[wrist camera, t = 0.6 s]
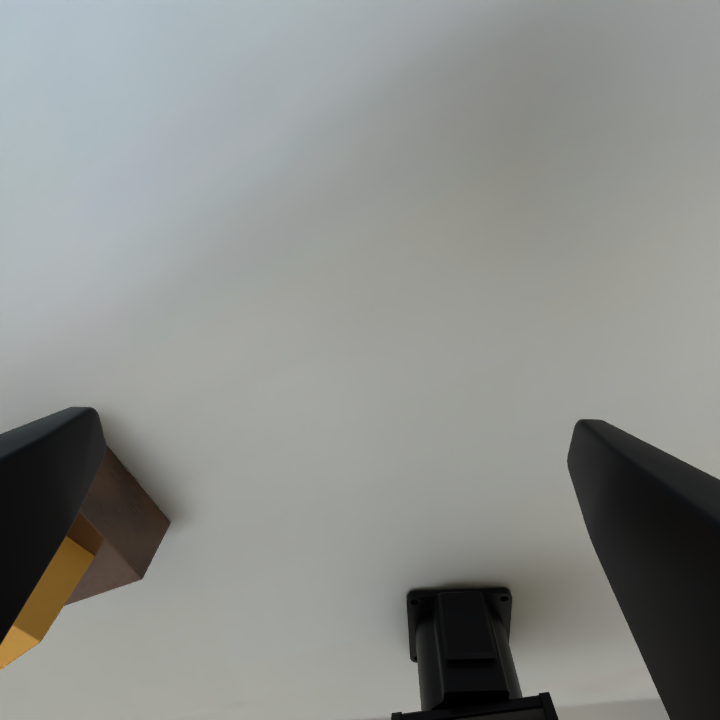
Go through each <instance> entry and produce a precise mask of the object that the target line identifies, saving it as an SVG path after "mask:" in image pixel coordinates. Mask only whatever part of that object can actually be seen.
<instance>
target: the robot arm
mask: <svg viewBox="0 0 720 720" xmlns="http://www.w3.org/2000/svg"><path fill="white" fill-rule="evenodd" d="M105 453H106V442H105V438H104V434H103V430H102V426H101V422H100V418H99V415H98V412H97V411H96V410H95V409H94V408H91V407H70V408H67V409H64V410H62V411H59V412H57V413H54V414H52V415H49V416H46V417H44V418H41V419H39V420H36V421H33V422H31V423H28V424H26V425H23V426H20V427H18V428H15V429H13V430H10V431H8V432H5V433H2V434H0V645H1V644H2V642H3V640H4V639H5V637H6V635H7V634H8V632H9V630H10V629H11V627H12V625H13V624H14V622H15V620H16V619H17V617H18V615H19V614H20V612H21V610H22V609H23V607H24V605H25V604H26V602H27V600H28V599H29V597H30V595H31V594H32V592H33V590H34V589H35V587H36V585H37V584H38V582H39V580H40V579H41V577H42V575H43V574H44V572H45V570H46V569H47V567H48V566H49V564H50V562H51V561H52V559H53V557H54V556H55V554H56V552H57V551H58V549H59V547H60V546H61V544H62V542H63V541H64V539H65V537H66V535H67V534H68V532H69V530H70V528H71V527H72V525H73V523H74V521H75V519H76V517H77V515H78V513H79V511H80V509H81V506H82V504H83V502H84V500H85V498H86V496H87V493H88V491H89V489H90V487H91V485H92V483H93V481H94V478H95V476H96V474H97V472H98V470H99V468H100V465H101V463H102V461H103V459H104V456H105ZM567 463H568V469H569V473H570V476H571V479H572V482H573V486H574V489H575V492H576V495H577V498H578V502H579V505H580V508H581V511H582V514H583V518H584V521H585V524H586V527H587V530H588V533H589V536H590V539H591V541H592V544H593V546H594V549H595V551H596V553H597V556H598V558H599V560H600V562H601V565H602V567H603V569H604V571H605V574H606V576H607V578H608V580H609V583H610V585H611V587H612V589H613V592H614V594H615V596H616V598H617V601H618V603H619V605H620V607H621V610H622V612H623V614H624V616H625V619H626V621H627V623H628V625H629V628H630V630H631V632H632V634H633V637H634V639H635V641H636V643H637V646H638V648H639V650H640V652H641V655H642V657H643V659H644V661H645V664H646V666H647V668H648V670H649V673H650V675H651V677H652V679H653V682H654V684H655V686H656V688H657V691H658V693H659V695H660V697H661V700H662V702H663V704H664V706H665V708H666V711H667V713H668V715H669V718H670V720H720V480H719V479H717V478H715V477H713V476H711V475H709V474H707V473H705V472H703V471H701V470H699V469H697V468H695V467H693V466H691V465H689V464H687V463H686V462H684V461H682V460H680V459H678V458H676V457H674V456H672V455H670V454H668V453H666V452H664V451H662V450H660V449H658V448H656V447H654V446H652V445H650V444H648V443H646V442H644V441H642V440H640V439H638V438H636V437H634V436H632V435H630V434H628V433H626V432H624V431H623V430H621V429H619V428H617V427H615V426H613V425H611V424H609V423H607V422H605V421H603V420H594V419H581V420H579V421H578V422H577V423H576V425H575V427H574V431H573V436H572V440H571V444H570V448H569V453H568V459H567ZM511 607H512V596H511V592H510V590H509V589H507V588H481V589H455V590H430V591H412V592H409V593H408V594H407V613H408V629H409V645H410V659H411V660H412V661H413V662H416V663H418V674H419V686H420V698H421V710H422V711H419V712H411V713H404V714H402V712H397V713H392V716H391V720H558V717H557V714H556V711H555V708H554V705H553V702H552V700H551V697H550V694H549V692H545V693H539V695H538V696H531V697H523V696H522V692H521V689H520V685H519V681H518V677H517V673H516V669H515V666H514V662H513V658H512V654H511V650H510V647H509V634H510V621H511Z"/></svg>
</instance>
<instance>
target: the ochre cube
mask: <svg viewBox="0 0 720 720" xmlns="http://www.w3.org/2000/svg"><path fill="white" fill-rule="evenodd" d="M94 557H95V556H94V555H93V554H92V553H90V552H89V551H87V550H86V549H84V548H83V547H82V546H80V545H79V544H77V543H76V542H74V541H73V540H72V539H70V538H69V537H67V536H66V537H65V539H64V541H63V542H62V544H61V546H60V547H59V549H58V551H57V552H56V554H55V556H54V557H53V559H52V561H51V562H50V564H49V566H48V567H47V569H46V570H45V572H44V574H43V575H42V577H41V579H40V580H39V582H38V584H37V585H36V587H35V589H34V590H33V592H32V594H31V595H30V597H29V599H28V600H27V602H26V604H25V605H24V607H23V609H22V610H21V612H20V614H19V615H18V617H17V619H16V620H15V622H14V624H13V625H12V627H11V629H10V630H9V632H8V634H7V635H6V637H5V639H4V640H3V642H2V644H1V645H0V670H1V669H2V668H4V667H5V666H7V665H8V664H10V663H11V662H12V661H14V660H15V659H17V658H18V657H20V656H21V655H23V654H24V653H25V652H27V651H28V650H30V649H31V648H33V647H34V646H36V645H37V644H38V643H40V642H41V641H42V639H43V638H44V636H45V634H46V633H47V631H48V630H49V628H50V627H51V625H52V623H53V622H54V620H55V619H56V617H57V616H58V614H59V612H60V611H61V609H62V608H63V606H64V605H65V603H66V601H67V600H68V598H69V597H70V595H71V594H72V592H73V590H74V589H75V587H76V586H77V584H78V583H79V581H80V579H81V578H82V576H83V575H84V573H85V572H86V570H87V568H88V567H89V565H90V564H91V562H92V561H93V559H94Z"/></svg>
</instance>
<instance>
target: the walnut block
mask: <svg viewBox="0 0 720 720" xmlns="http://www.w3.org/2000/svg"><path fill="white" fill-rule="evenodd" d="M169 525H170V522H169V521H168V520H167V519H166V517H165V516H164V515H163V514H162V513H161V511H160V510H159V509H158V508H157V506H156V505H155V504H154V503H153V502H152V500H151V499H150V498H149V497H148V496H147V494H146V493H145V492H144V491H143V489H142V488H141V487H140V486H139V485H138V483H137V482H136V481H135V480H134V479H133V477H132V476H131V475H130V474H129V472H128V471H127V470H126V469H125V468H124V466H123V465H122V464H121V463H120V461H119V460H118V459H117V458H116V457H115V455H114V454H113V453H112V452H111V451H110V449H109V448H108V447H107V446H106V453H105V456H104V459H103V461H102V463H101V465H100V468H99V470H98V472H97V474H96V476H95V478H94V481H93V483H92V485H91V487H90V489H89V491H88V493H87V496H86V498H85V500H84V502H83V504H82V506H81V509H80V511H79V513H78V515H77V517H76V519H75V521H74V523H73V525H72V527H71V528H70V530H69V532H68V534H67V535H66V536H67V537H69V538H70V539H72V540H73V541H74V542H76V543H77V544H79V545H80V546H82V547H83V548H84V549H86V550H87V551H89V552H90V553H92V554H93V555H94V556H95V557H94V559H93V561H92V562H91V564H90V565H89V567H88V568H87V570H86V572H85V573H84V575H83V576H82V578H81V579H80V581H79V583H78V584H77V586H76V587H75V589H74V590H73V592H72V594H71V595H70V597H69V598H68V600H67V601H66V603H65V605H68V604H71V603H74V602H77V601H80V600H83V599H86V598H89V597H91V596H94V595H97V594H100V593H103V592H106V591H109V590H112V589H115V588H118V587H121V586H124V585H127V584H130V583H132V582H135V581H138V580H141V579H142V578H143V577H144V575H145V573H146V571H147V569H148V567H149V565H150V563H151V561H152V559H153V557H154V555H155V553H156V551H157V549H158V547H159V545H160V543H161V541H162V539H163V537H164V535H165V533H166V531H167V529H168V527H169ZM65 605H64V606H65Z"/></svg>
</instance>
